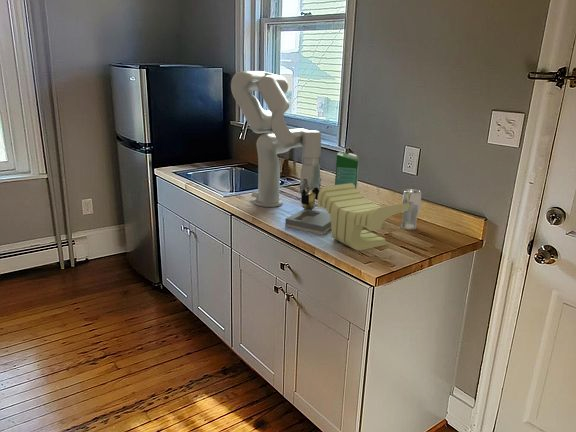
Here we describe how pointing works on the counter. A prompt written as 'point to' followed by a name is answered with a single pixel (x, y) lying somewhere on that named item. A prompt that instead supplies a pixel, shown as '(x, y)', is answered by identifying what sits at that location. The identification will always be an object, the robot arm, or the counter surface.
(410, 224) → the beer glass
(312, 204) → the peg
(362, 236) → the slatted curved stool
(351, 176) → the milk carton
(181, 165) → the counter surface
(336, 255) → the counter surface
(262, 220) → the counter surface
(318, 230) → the board
